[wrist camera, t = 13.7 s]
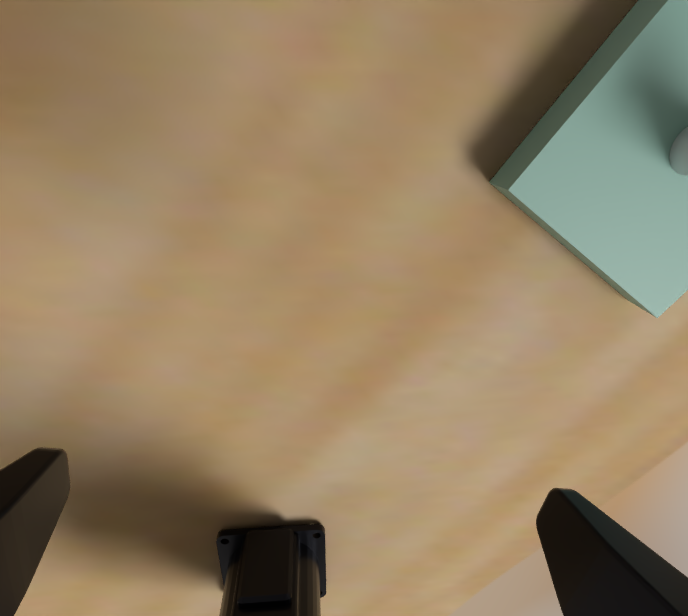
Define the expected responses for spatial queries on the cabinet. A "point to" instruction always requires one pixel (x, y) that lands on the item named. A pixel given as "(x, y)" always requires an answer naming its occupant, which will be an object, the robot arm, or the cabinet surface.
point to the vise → (618, 159)
